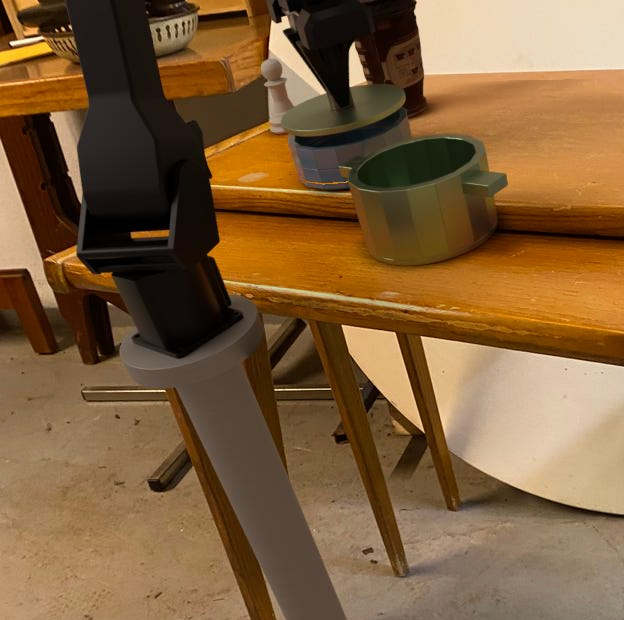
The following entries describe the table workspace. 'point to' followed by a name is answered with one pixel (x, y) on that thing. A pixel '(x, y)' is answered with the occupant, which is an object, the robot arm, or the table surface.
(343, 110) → the lid
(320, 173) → the pan
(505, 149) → the table surface
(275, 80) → the chess piece
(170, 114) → the robot arm
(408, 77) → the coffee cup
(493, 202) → the pot
